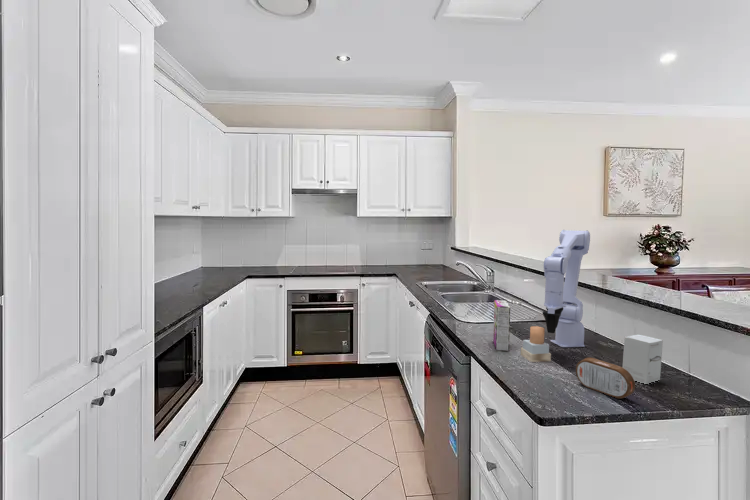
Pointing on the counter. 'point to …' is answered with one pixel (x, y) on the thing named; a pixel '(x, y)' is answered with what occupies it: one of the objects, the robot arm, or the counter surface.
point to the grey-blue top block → (535, 347)
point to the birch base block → (535, 356)
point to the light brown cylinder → (537, 335)
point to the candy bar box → (501, 325)
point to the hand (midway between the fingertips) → (552, 330)
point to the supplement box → (643, 358)
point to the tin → (605, 377)
